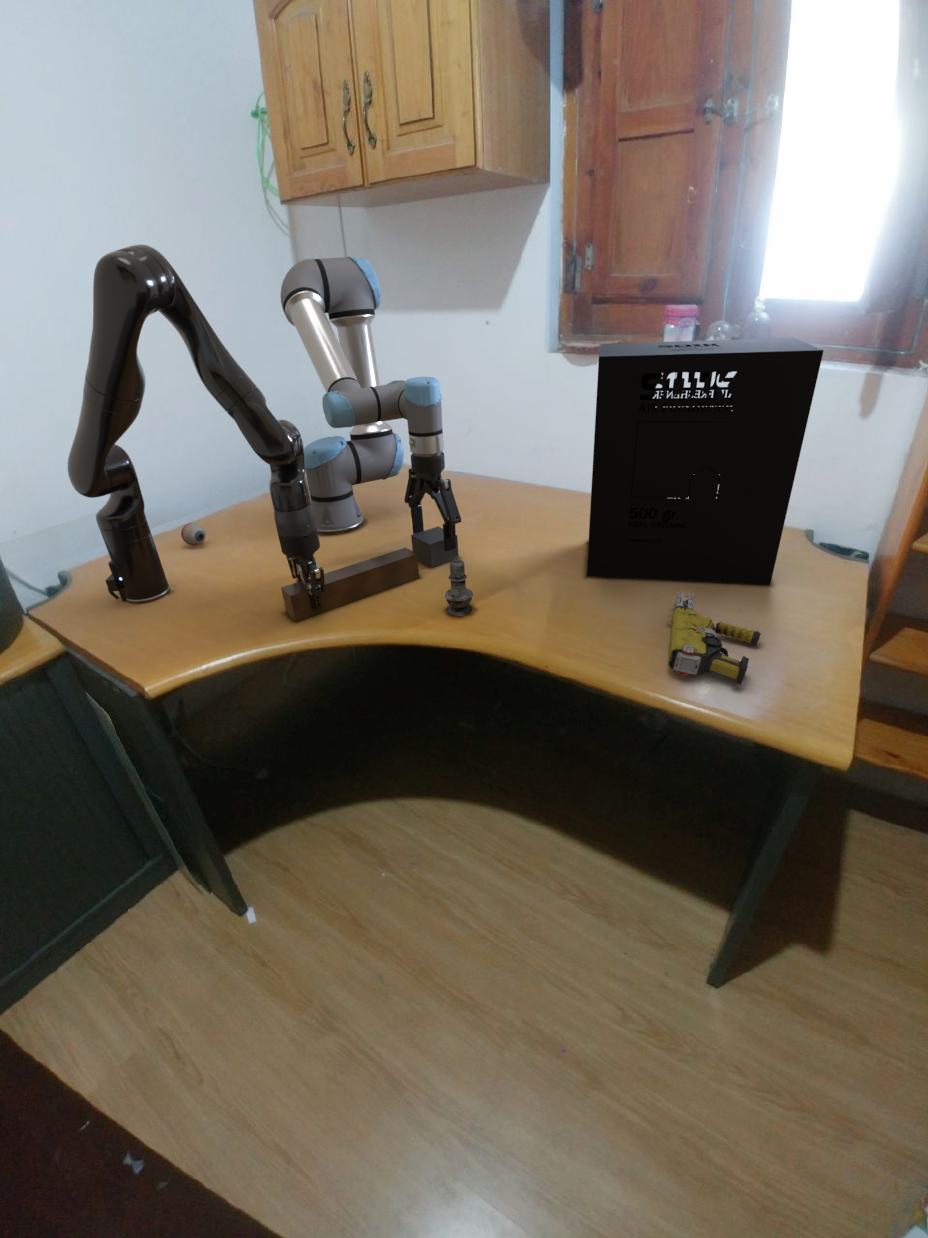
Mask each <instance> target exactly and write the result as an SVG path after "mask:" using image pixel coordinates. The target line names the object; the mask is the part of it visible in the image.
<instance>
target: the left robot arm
mask: <svg viewBox="0 0 928 1238" xmlns="http://www.w3.org/2000/svg"><path fill="white" fill-rule="evenodd" d="M157 312H158V313H160V314H161V315H162V317H164V318H165V319H166V320H167V321H168V322H169V323H170V324H171V325H172V327H173V328H174V329H175V330H176V331H177V333H178V334H179V336H180V337H181V339H182V342H183V343H184V345H185V348H186V349H187V351H188V354H189V356H190V358H191V361H192V364H193V366H194V369H195V371H196V373H197V375H198V378H199V380H200V381H201V383H202V385H203V386H204V388H205V389H206V391H207V392H208V393H209V394H210V395H211V397H212V398H213V399H214V400H215V401H216V402H217V404H218V405H220V407H221V408H222V409H223V411H225V413H227V414H228V416H229V417H230V418H231V419H232V420H233V421H234V423H235V424H236V426H237V428H238V429H239V431H240V432H241V434H242V436H243V438H244V439H245V440H246V442H247V443H248V445H249V446H250V448H251V449H252V451H254V453H255V454H256V455H257V456H258V457H259V459H261V460H262V461H263V462H264V463H266V464H268V465H269V470H270V479H269V486H268V487H269V494H270V498H271V499H270V500H271V503H272V507H273V515H274V522H275V527H276V532H277V536H278V540H279V545H280V549H281V550H280V551H281V553H282V554H283V555H284V556H286V561H287V564H288V567H289V570H290V574H291V578H292V579H293V580H295V583H297V582H300V581H302V582H303V584H305V585H306V586H307V589H308V593H309V596H310V601H311V606H312V609H313V610H314V611H316V610H319V609H322V608H323V602H322V597H321V593H324V592H325V582H324V574H325V572H324V571H325V570H324V568H323V567H318V561H317V559H316V557H315V556H314V555H315V553H316V552H318V551H319V550H320V548H321V543H320V537H319V534H318V531H317V526H316V521H315V516H314V512H313V509H312V506H311V498H310V492H309V487H308V482H307V476H306V471H305V458H304V448H305V447H304V442H303V438H302V434H301V432H300V430H299V429H298V428H297V426H296V425H295V424H294V423H293V422H292V421H289V420H286V419H277V418H276V416H275V415H274V414H273V413H272V412H271V410H270V409H269V408H268V404H267V398H266V396H265V395H264V393H263V391H261V389H260V388H259V387H258V385H257V384H256V383H255V382H254V381H253V380H252V379H251V377H250V376H249V374H247V372H245V370H244V369H243V368H242V367H241V365H240V364H239V363H238V362H237V360H235V358H234V357H233V355H232V354H231V353H230V352H229V350H228V349H227V348H226V347H225V344H223V343H222V341H221V339H220V338H219V337H218V335H217V333H216V332H215V330H214V329H213V327H212V326H211V324H210V322H209V321H208V319H207V318H206V316H205V315H204V313H203V311H202V309H200V307H199V305H198V304H197V302H196V301H195V299H194V298H193V296H192V294H191V293H190V292H189V290H188V288H187V287H186V285H185V283H184V282H183V280H182V278H181V277H180V275H179V274H178V273H177V271H176V270H175V268H174V267H173V266H172V263H170V262H169V260H168V259H167V258H166V257H165V256H164V255H163V254H162V253H161V252H160V251H159V250H157V249H156V248H154V247H153V246H150V245H149V244H148V245H147V244H143V243H142V244H141V243H140V244H139V243H138V244H133V245H129V246H126V247H123V248H120V249H116V250H112V251H110V252H108V253H106V254H104V255H103V256H101V258H100V259H99V260H98V261H97V262H96V266H95V267H94V274H93V284H92V328H91V337H90V343H89V352H88V361H87V366H86V369H85V376H84V383H83V391H82V401H81V407H80V412H79V418H78V423H77V427H76V431H75V435H74V438H73V441H72V444H71V447H70V451H69V454H68V458H67V475H68V478H69V479H68V480H69V481H70V484H71V486H72V487H73V489H74V490H75V492H76V493H78V494H79V495H81V496H83V497H85V498H91V499H93V498H102V497H104V496H108V495H109V497H108V500H107V501H106V502H105V504H104V505H103V506H102V507H101V508H100V509H99V510H98V511H97V512H96V514H95V521H96V524H97V527H98V528H99V532H100V534H101V537H102V540H103V542H104V545H105V547H106V551H107V553H108V555H109V558H110V560H109V561H108V562H107V564H108V567H109V570H110V575H109V576H108V577H107V578H106V579H105V583H106V586H107V592H108V593H109V594H110V595H111V597H113V598H114V599H115V600H118V599H121V602H123V603H126V602H127V603H131V604H143V603H144V604H145V603H149V602H153V601H156V600H158V599H159V600H160V599H161V598H163V597H164V596H166V595H167V594H169V592H170V591H171V587H170V584H169V582H168V578H167V577H166V573H165V570H164V568H163V564H162V561H161V557H160V555H159V552H158V550H157V549H158V548H157V546H156V544H155V540H154V538H153V534H152V532H151V529H150V525H149V523H148V522H149V521H148V519H147V516H146V513H145V500H144V496H143V493H142V491H141V489H142V488H141V486H140V482H139V478H138V475H137V472H136V468H135V465H134V463H133V461H132V459H131V457H130V455H129V453H128V452H127V451H126V450H125V449H124V448H123V447H122V446H120V445H118V444H116V443H117V442H118V441H119V440H120V439H121V438H122V437H123V435H125V433H126V432H127V431H128V430H129V429H130V427H131V426H132V425H133V424H134V422H135V421H136V419H137V418H138V417H139V414H140V411H141V410H142V409H141V408H142V405H143V400H144V396H145V391H146V386H147V385H146V384H147V383H146V382H147V380H146V373H145V371H144V367H143V365H142V363H141V360H140V358H139V355H138V346H139V341H140V337H141V333H142V330H143V327H144V325H145V324H144V323H145V321H146V319H147V318H148V317H149V316H151V315H152V314H156V313H157ZM309 578H310V579H309ZM307 579H309V580H307ZM310 584H311V585H310ZM316 586H317V587H316ZM115 592H118V594H119V596H120V597H119V596H118V595H117V594H116V593H115Z"/></svg>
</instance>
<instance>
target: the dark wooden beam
mask: <svg viewBox="0 0 928 1238" xmlns="http://www.w3.org/2000/svg"><path fill="white" fill-rule="evenodd" d="M309 579H310V577H309ZM309 579H307V580H309ZM418 579H420V571H419V562H418V559H417V554H416V553H414V552H413V550H411V549H409V548H407V547H403V548H399V549H397V550H393V551H390V552H387V553H384V554H381V555H379V556H375V557H372V558H368V559H366V560H362V561H359V562H356V563H353V564H350V565H347V566H343V567H340V568H338V569H334V570H331V571H328V572H324V582H325V592H324V593H321V597H322V602H323V608H322V609H319V610H316V611H314V610H313V609H312V606H311V601H310V596H309V593H308V589H307V586H306V585H305V584H303V582H302V581H300V582H297V583H296V582H293V583H291V584H288V585H284V586H282V587H280V591H281V594H282V599H283V603H284V608H285V612H286V614H287V616H288V617H290V618H291V619H292V620H293V621H294V622H295V623H296V622H299V621H303V620H306V619H308V618H311V617H314V616H317V615H319V614H323V613H325V612H327V611H330V610H334V609H336V608H339V607H341V606H344V605H348V604H350V603H354V602H355V601H359V600H362V599H364V598H367V597H370V596H373V595H375V594H379V593H382V592H384V591H387V590H389V589H393V588H395V587H398V586H401V585H403V584H406V583H408V582H411V581H415V580H418ZM310 585H311V584H310ZM316 587H317V586H316Z"/></svg>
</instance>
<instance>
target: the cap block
mask: <svg viewBox="0 0 928 1238" xmlns="http://www.w3.org/2000/svg"><path fill="white" fill-rule="evenodd" d="M410 537H411V539H410V540H411V548H412V551H413V552H414V553H416V554H417V559H418V561H419V562H421V563H422V564H424V565H426V566H427V567H429V568H430V569H432V568H435V567H438V566H441V565H444V564H446V563H450V562H451V561H453V560H455V557H456V556H457V557H458V559H459V558H460V557H459V541H458V540H459V539H458V534H456V536H455V542H456V549H453V550H450V551H447V552H446V551H445V550H444V535H443V527H440V525H439V526H435V527H432V528H429V529H426V530H425V529H424V531H422V532H419V533H416V534H413V533H412V534H411V536H410Z"/></svg>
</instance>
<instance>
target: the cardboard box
mask: <svg viewBox="0 0 928 1238" xmlns="http://www.w3.org/2000/svg"><path fill="white" fill-rule="evenodd" d="M598 353H599V354H598V363H597V364H598V367H597V383H596V385H597V386H596V387H597V388H596V403H595V417H594V418H595V419H594V438H593V456H592V473H591V490H590V491H591V492H590V508H589V527H588V543H587V545H588V546H587V561H586V577H587V578H608V579H609V578H610V579H628V580H629V579H630V580H631V579H632V580H633V579H634V580H653V581H654V580H655V581H676V582H677V581H678V582H697V583H698V582H700V583H723V584H744V585H745V584H746V585H765V586H767V585H768V586H771V584H772V579H773V575H774V571H775V566H776V560H777V557H778V553H779V549H780V543H781V539H782V535H783V530H784V526H785V522H786V518H787V513H788V509H789V506H790V505H789V504H790V500H791V495H792V492H793V486H794V482H795V478H796V475H797V474H796V473H797V469H798V466H799V460H800V456H801V451H802V446H803V442H804V438H805V434H806V431H807V427H808V426H807V425H808V421H809V416H810V412H811V407H812V403H813V398H814V394H815V390H816V386H817V381H818V377H819V372H820V369H821V363H822V359H823V355H824V349H822V348H819V347H817V346H815V345H812V344H811V343H808V342H805V341H802V340H800V339H798V338H795V337H777V338H776V337H775V338H772V337H771V338H746V339H745V338H743V339H739V338H738V339H713V340H709V339H708V340H683V341H682V340H681V341H679V340H678V341H651V342H649V341H648V342H647V341H646V342H621V343H619V342H618V343H600V344H599V352H598ZM732 372H733V373H734V372H735V373H734V375H733V376H732V377H727V376H728V375H729V373H732ZM674 373H676V377H675V378H673V384H672V387H670V384H671V378H670V377H669V376H670V374H674ZM683 373H688V376H687V383H690V384H689V387H685V382H686V381H685V378H684V377H683ZM696 373H699V378H698V377H696ZM713 373H715V376H714V382H713V383H712V379H713ZM668 377H669V378H668ZM717 381H718V383H719V384H721V383H728V384H727V386H719V385H718V383H717ZM698 382H699V383H700V384H701V383H702V384H703V387H701V386H700V387H699V386H698ZM657 385H660V386H661V387H657ZM697 386H698V387H697Z"/></svg>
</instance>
